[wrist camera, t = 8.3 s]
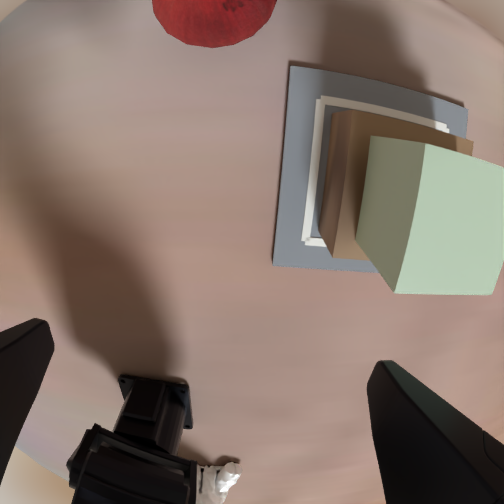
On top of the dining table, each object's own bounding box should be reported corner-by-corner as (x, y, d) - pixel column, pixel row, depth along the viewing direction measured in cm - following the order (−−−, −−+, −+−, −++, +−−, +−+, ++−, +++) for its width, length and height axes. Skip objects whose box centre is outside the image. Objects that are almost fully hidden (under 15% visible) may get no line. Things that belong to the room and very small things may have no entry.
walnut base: (417, 240, 18) (447, 266, 15) (318, 230, 18) (332, 257, 15) (436, 136, 16) (473, 141, 12) (331, 113, 16) (352, 109, 12)
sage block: (438, 248, 14) (491, 294, 10) (354, 240, 14) (394, 293, 10) (457, 156, 12) (523, 175, 8) (370, 135, 12) (425, 143, 8)
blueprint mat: (434, 273, 20) (436, 276, 19) (272, 263, 20) (272, 266, 19) (464, 109, 15) (468, 109, 15) (289, 66, 15) (290, 65, 14)
